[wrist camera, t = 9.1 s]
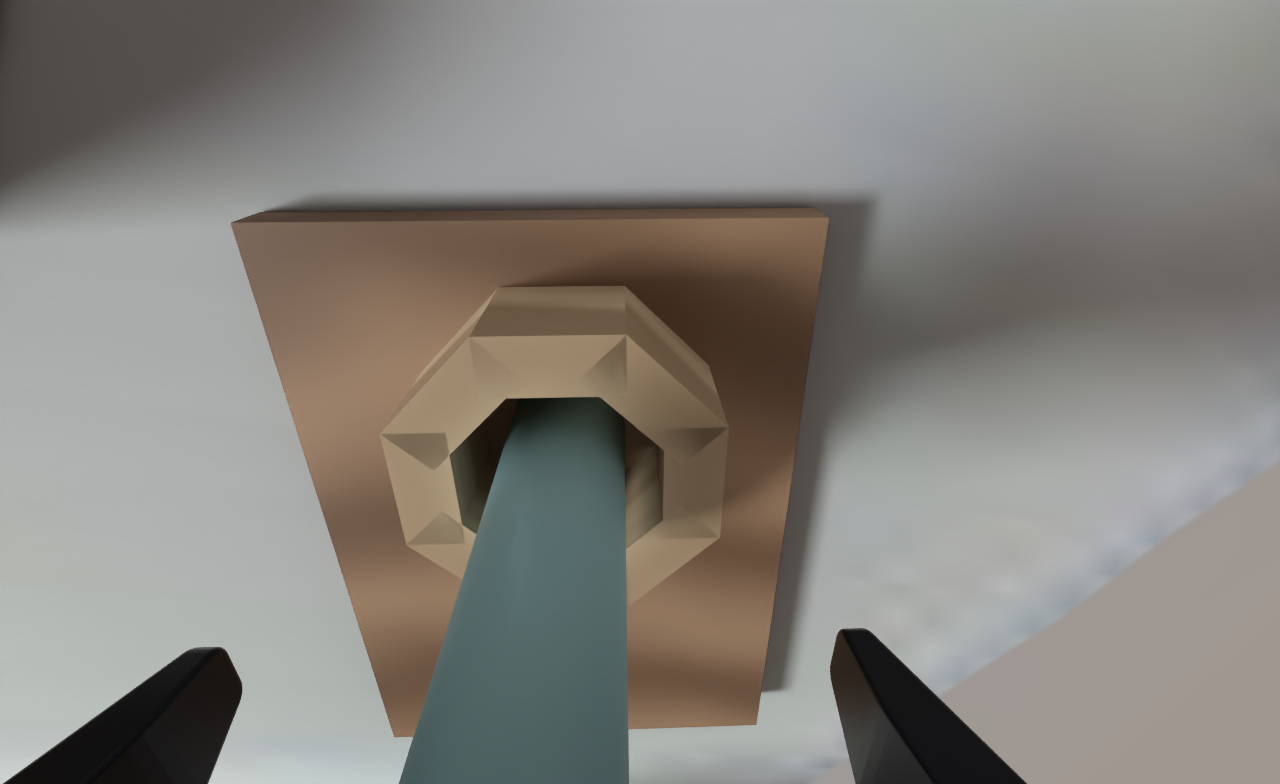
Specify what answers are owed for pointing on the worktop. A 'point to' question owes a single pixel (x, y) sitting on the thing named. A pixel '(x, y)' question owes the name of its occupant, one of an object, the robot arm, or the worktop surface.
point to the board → (430, 317)
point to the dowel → (538, 615)
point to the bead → (554, 368)
